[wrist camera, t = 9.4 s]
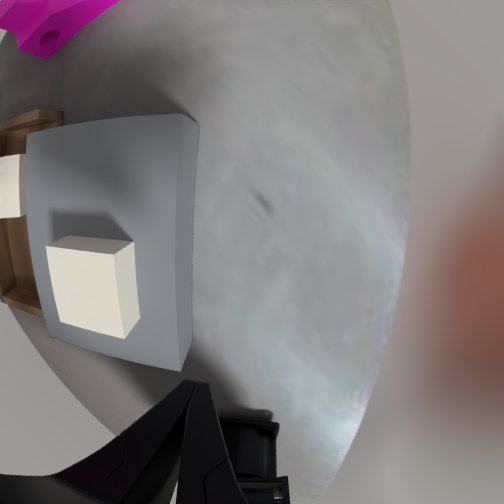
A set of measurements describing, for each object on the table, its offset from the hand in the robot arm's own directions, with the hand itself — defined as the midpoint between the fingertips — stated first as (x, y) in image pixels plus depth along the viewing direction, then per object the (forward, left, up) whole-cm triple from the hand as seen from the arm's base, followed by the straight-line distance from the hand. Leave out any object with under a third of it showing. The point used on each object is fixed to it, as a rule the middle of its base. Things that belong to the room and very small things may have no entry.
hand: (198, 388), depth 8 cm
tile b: (+8, 0, -7) cm, 11 cm away
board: (+9, -2, -11) cm, 14 cm away
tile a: (+20, -6, -8) cm, 22 cm away
